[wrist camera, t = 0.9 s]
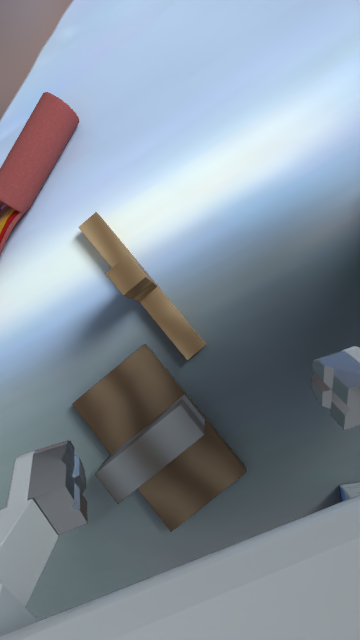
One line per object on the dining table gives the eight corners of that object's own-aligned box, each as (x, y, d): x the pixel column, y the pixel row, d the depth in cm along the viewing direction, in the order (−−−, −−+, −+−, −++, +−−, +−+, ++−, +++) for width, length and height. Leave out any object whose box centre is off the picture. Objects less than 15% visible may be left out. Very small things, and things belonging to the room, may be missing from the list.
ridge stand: (145, 343, 45) (133, 346, 37) (245, 466, 43) (253, 495, 36) (76, 401, 45) (50, 415, 38) (172, 524, 44) (164, 565, 36)
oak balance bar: (101, 217, 46) (71, 186, 36) (206, 344, 44) (205, 348, 34) (84, 231, 46) (49, 204, 36) (188, 358, 44) (182, 367, 35)
